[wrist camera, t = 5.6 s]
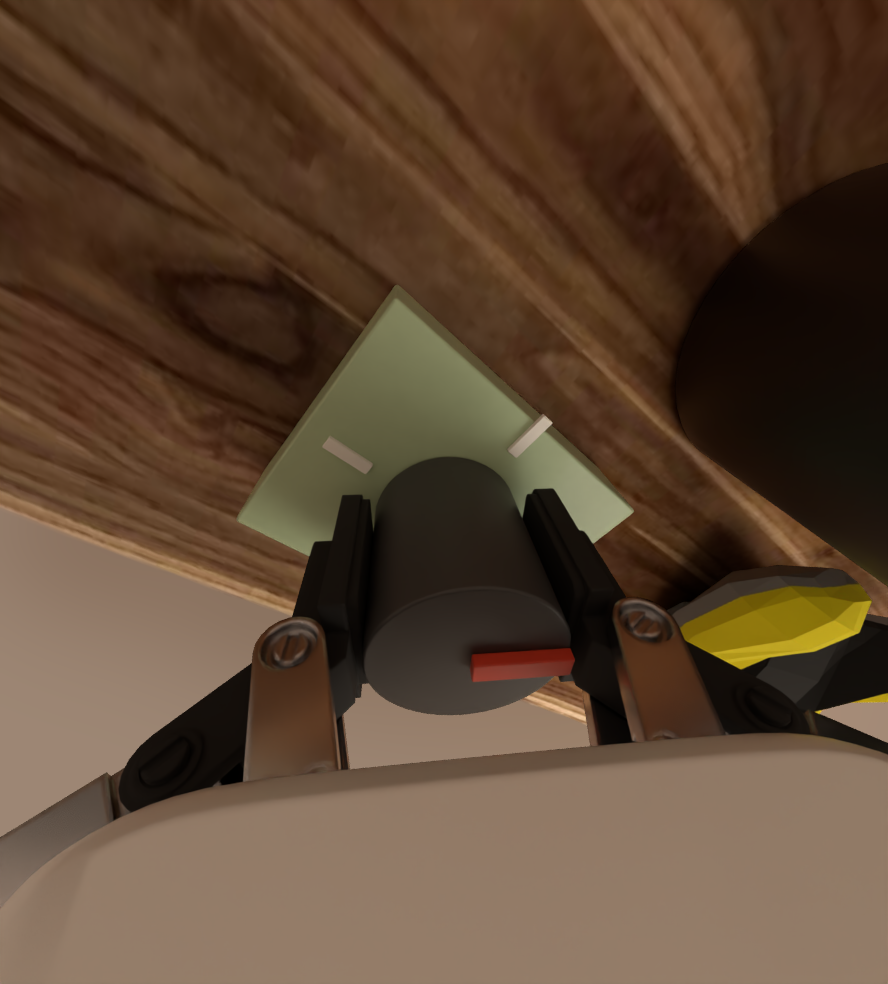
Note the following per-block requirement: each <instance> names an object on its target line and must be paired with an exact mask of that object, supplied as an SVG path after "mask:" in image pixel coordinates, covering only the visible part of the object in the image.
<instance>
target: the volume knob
mask: <svg viewBox="0 0 888 984" xmlns="http://www.w3.org/2000/svg"><path fill="white" fill-rule="evenodd" d="M570 644H571V634H570V629H569V625H568V623H567V621H566V619H565V616H564V614H563V612H562V609H561V607H560V605H559V602H558V600H557V598H556V595H555V593H554V591H553V588H552V586H551V584H550V581H549V579H548V577H547V574H546V572H545V570H544V567H543V565H542V563H541V560H540V558H539V556H538V553H537V551H536V549H535V546H534V544H533V542H532V539H531V537H530V535H529V532H528V530H527V528H526V525H525V523H524V521H523V518H522V516H521V514H520V512H519V509H518V507H517V505H516V502H515V500H514V498H513V495H512V493H511V491H510V488H509V487H508V485H507V484H506V482H505V481H504V480H503V479H502V477H501V476H500V475H499V474H497V473H496V472H495V471H494V470H492V469H491V468H489V467H487V466H486V465H484V464H481V463H479V462H477V461H473V460H470V459H465V458H459V457H440V458H434V459H429V460H425V461H422V462H419V463H417V464H415V465H412V466H410V467H409V468H407V469H405V470H404V471H402V472H401V473H399V474H398V475H397V476H396V477H394V478H393V479H392V480H391V482H390V483H389V484H388V485H387V486H386V488H385V489H384V490H383V492H382V494H381V496H380V498H379V500H378V503H377V506H376V512H375V521H374V532H373V543H372V553H371V564H370V575H369V585H368V596H367V607H366V618H365V628H364V639H363V650H362V667H363V671H364V674H365V677H366V679H367V681H368V683H369V684H370V685H371V686H372V688H373V689H374V690H375V691H376V692H377V693H378V694H379V695H380V696H382V697H383V698H385V699H386V700H388V701H389V702H391V703H393V704H395V705H397V706H400V707H403V708H405V709H408V710H412V711H416V712H421V713H427V714H436V715H462V714H471V713H478V712H484V711H488V710H492V709H496V708H499V707H502V706H506V705H509V704H511V703H513V702H516V701H518V700H520V699H522V698H524V697H526V696H528V695H530V694H532V693H533V692H535V691H537V690H538V689H540V688H541V687H542V686H544V685H545V684H546V683H548V682H549V681H550V680H551V679H552V678H553V677H554V676H563V675H570V673H571V670H572V667H573V664H574V662H575V658H574V656H573V653H572V651H571V649H570Z"/></svg>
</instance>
